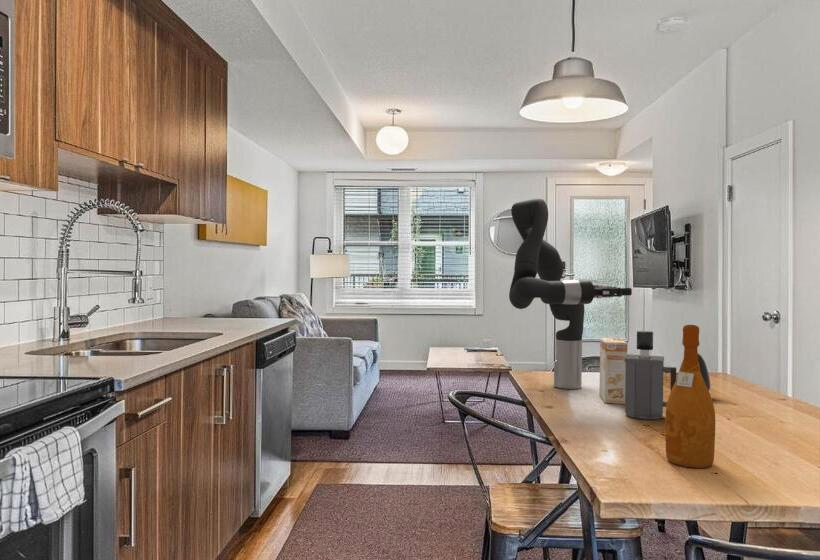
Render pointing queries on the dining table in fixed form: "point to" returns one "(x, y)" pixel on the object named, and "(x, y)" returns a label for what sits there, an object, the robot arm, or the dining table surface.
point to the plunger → (644, 343)
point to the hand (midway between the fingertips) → (623, 291)
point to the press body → (645, 386)
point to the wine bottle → (690, 411)
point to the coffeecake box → (612, 370)
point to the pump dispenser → (703, 371)
